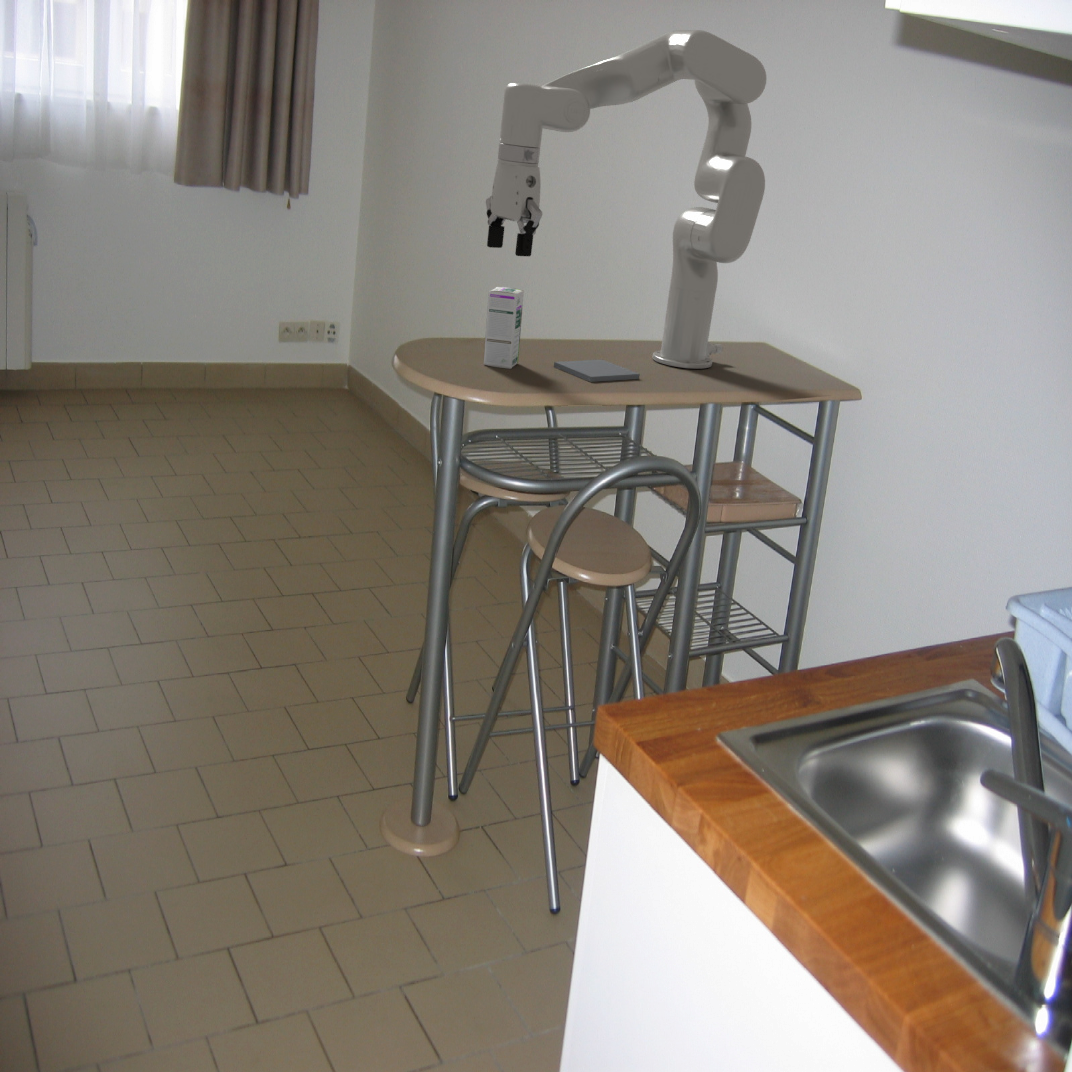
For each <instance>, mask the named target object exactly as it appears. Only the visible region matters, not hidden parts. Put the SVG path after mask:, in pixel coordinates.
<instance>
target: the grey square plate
mask: <svg viewBox="0 0 1072 1072" xmlns="http://www.w3.org/2000/svg"><path fill="white" fill-rule="evenodd" d="M553 367H554V368H555V369H558V370H560V371H562V372H565V373H568V374H569V375H573V376H575V377H577V378H580V379H582V380H584V381H587V382H590V383H595V382H611V381H612V382H613V381H626V380H640V373H639V372H636V371H633V370H631V369H629V368H626V367H623V366H620V365H618V364H615V363H613V362H610V361H607V360H605V359H583V360H566V361H565V360H564V361H562V360H561V361H554V363H553Z"/></svg>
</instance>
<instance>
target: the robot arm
mask: <svg viewBox="0 0 1072 1072" xmlns="http://www.w3.org/2000/svg"><path fill="white" fill-rule="evenodd" d="M679 80H691V81H692V80H693V81H694V85H695V88H696V91H697V92H698V94H699V96H700V97H701V99H702V101H703V104H704V106H705V107H706V111H707V117H708V123H707V124H708V125H707V130H706V136H705V139H704V144H703V147H702V150H701V154H700V157H699V161H698V165H697V168H696V172H695V175H694V181H693V183H694V184H693V185H694V190H695V192H696V194H697V195H698V197H700V198H701V199H703V200H705V201H709V202H711V203H715V204H717V206H716V209H713V208H708V207H703V206H701V207H700V206H695V207H691V208H687V209H686V210H685V211H683V212H682V213H681V214H680V215H679V216H678V217H677V219H676V221H675V223H674V225H673V231H672V255H673V256H672V268H671V269H672V271H671V277H670V278H671V279H670V285H669V290H668V296H667V297H668V298H667V304H666V310H665V311H666V312H665V319H664V326H663V331H662V339H661V340H662V341H661V345H660V347H661V348H660V350H655V351H654V352H652V357H651V358H652V359H653V360H654V361H655V362H657V363H659V364H663V365H666V366H670V367H677V368H680V369H681V368H683V369H695V370H696V369H697V370H698V369H702V370H703V369H707V368H711V367H712V366H713V360H712V359H711V358H710V355H712V354H722V353H723V350H724V347H723V345H722V344H721V343H718V344H717V343H714V344H712V342H709V338H710V337H709V336H710V331H711V324H712V319H713V317H712V316H713V311H714V305H715V299H716V294H717V293H716V292H717V287H718V276H719V274H718V273H719V272H718V263H719V264H731V263H734V262H736V261H738V259H740V258H741V257H742V256H743V255H744V254H745V252H746V250H747V248H748V246H749V244H750V242H751V239H752V235H753V233H754V229H755V225H756V222H757V219H758V216H759V213H760V209H761V205H762V202H763V198H764V194H765V190H766V178H765V177H766V176H765V173H764V170H763V168H762V166H761V164H760V163H759V162H758V161H756V159H754V158H751V157H748V156H746V154H747V151H748V147H749V143H750V137H751V133H752V116H751V115H752V114H751V111H750V108H749V104H750V103H753V102H754V101H756V100H758V98H760V97H761V96H762V94H763V92H765V91H764V90H765V88H766V85H767V72H766V69H765V66H764V65H763V63H762V62H761V61H760V59H758V58H757V57H756V56H754V55H752V54H751V53H749V52H747V51H745V50H743V49H741V48H740V47H738V46H735V45H733V43H730V42H729V41H726V40H725V39H724V38H721V37H719V36H717V35H715V34H712V33H711V32H708V31H706V30H701V29H675V30H671V31H669V32H666V33H664V34H661V35H659V36H658V37H655V38H653V39H651V40H648V41H646V42H645V43H642V44H641V45H638V46H637V47H634V48H632V49H630V50H628V51H625V52H623V53H621V54H619V55H617V56H613V57H611V58H608V59H605V60H602V61H599V62H597V63H594V64H591V65H589V66H586V67H583V68H580V69H578V70H577V69H576V70H574V71H571V72H570V73H567V74H564V75H562V76H560V77H558V78H556V79H554V80H551V81H549V82H546V83H545V84H543V85H542V86H540V85H535V84H531V83H530V84H529V83H522V82H510V83H508V84H507V85H506V86H505V89H504V94H503V101H502V102H503V103H502V114H501V125H500V133H499V144H498V152H497V154H498V155H497V164H496V167H495V173H494V177H493V184H492V190H491V195H490V196H489V197H488V198H487V199H485V206H486V216H487V218H488V219H487V225H488V233H487V242H486V246H487V247H488V248H493V249H494V248H497V249H498V248H499V249H501V248H503V245H504V236H505V235H504V233H505V226H503V225H504V223H505V222H506V220H507V221H512V222H516V223H517V227H518V230H519V233H518V232H517V233H516V234H517V235H516V245H515V256H517V257H531V256H532V250H533V242H534V241H533V240H534V235H535V234H536V232H537V229H538V228H539V227H540V226H539V225H540V221H541V219H542V218H543V217H542V216H543V211H542V210H541V208H540V202H541V171H540V170H541V167H539V164H540V163H539V162H540V155H541V154H540V153H541V147H542V145H541V144H542V135H543V129H544V130H549V131H556V132H561V133H573V132H577V131H579V130H580V129H582V128H583V127H584V126H585V125H586V124H587V122H588V121H589V118H590V115H591V110H592V109H596V108H600V107H609V106H610V107H611V106H619V105H624V104H628V103H633V102H636V101H638V100H640V99H642V98H644V97H647V96H648V95H651V94H652V93H654V92H656V91H658V90H660V89H662V88H664V87H667V86H669V85H671V84H673V83H676V82H677V81H679Z"/></svg>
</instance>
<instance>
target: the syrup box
mask: <svg viewBox="0 0 1072 1072" xmlns="http://www.w3.org/2000/svg"><path fill="white" fill-rule="evenodd" d="M524 294H525V293H524V290H523V289H518V288H514V287H506V286H496V287H494V288H493V289H491V290H488V296H487V309H486V312H487V313H486V323H485V337H484V339H485V340H484V352H483V355H484V356H483V365H485V366H489V367H494V368H502V369H513V368H514V367H515V366H516V365H517V364H519V355H520V343H521V331H522V329H521V328H522V319H523V318H522V316H523V306H524V305H523V302H524Z"/></svg>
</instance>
